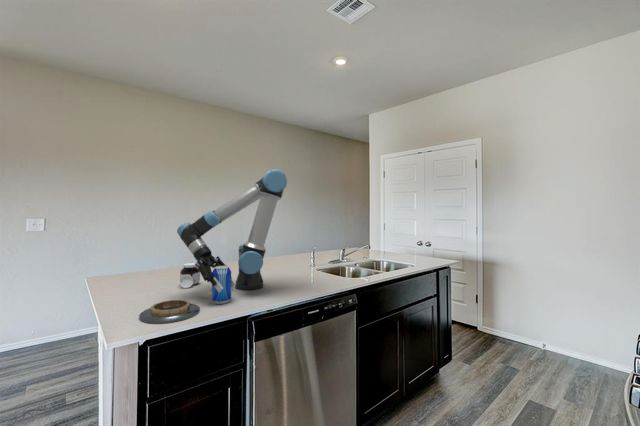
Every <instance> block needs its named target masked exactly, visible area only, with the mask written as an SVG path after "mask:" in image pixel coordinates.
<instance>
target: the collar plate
mask: <svg viewBox="0 0 640 426" xmlns="http://www.w3.org/2000/svg"><path fill="white" fill-rule="evenodd" d="M200 310H201V307H200V306H199V305H198V304H196V303H191V302H190V301H189V300H184V299H171V300H170V299H169V300H164V301H159V302H156V303H154V304H153V305H151V306H150V308H146V309H144V310H143V311H142V312H141V313H139V315H138V316H139V317H138V319H139V321H140V322H142V323H146V324H150V325H151V324H153V325H159V324H160V325H164V324H173V323H178V322H182V321H185V320H188V319H191V318H194V317H196V316H197V315H198V314H199V313H200Z"/></svg>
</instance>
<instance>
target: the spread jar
mask: <svg viewBox="0 0 640 426" xmlns="http://www.w3.org/2000/svg"><path fill="white" fill-rule="evenodd" d="M195 264H196V262H195V263H194V262H187V263H184V264H183V267H182V269H181V270H180V272H179V285H180V287H182V288H184V289H189V288H191V287H194V286H196V285H198V284H199V283H200V282H201V273H200V271H199V269H198V267H197V266H196V265H195Z"/></svg>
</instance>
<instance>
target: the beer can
mask: <svg viewBox="0 0 640 426" xmlns="http://www.w3.org/2000/svg"><path fill="white" fill-rule="evenodd" d="M212 274H213V278H214V277H215V278H216V279H217V280H218V282H219V283H220V284H221V286H222V287H223V289H222V290H221V291H220V292H218V291H217V290H216V288H215V287H214V286H213V285H212V284H211V301H212V303H213V304H215V305H223V304H228V303H229V302H230V301H231V299H232V288H231V277H232V271H231V269H230V266H227V265H226V266H216V267H214V268H213V270H212Z"/></svg>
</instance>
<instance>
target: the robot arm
mask: <svg viewBox="0 0 640 426" xmlns="http://www.w3.org/2000/svg"><path fill="white" fill-rule="evenodd" d="M287 184H288V179H287V176H286V174H285V173H284V172H283V171H282V170H281V169H275V168H274V169H273V168H272V169H269V170H268V171H266V172H265V173H264V175H263V176H262V177H261V179H259V180H258V181H256V182H255V183H254V185H253V186H252V187H250V188H248V189H246V190H245V191H244V192H241V193H240V194H238V195H237V196H236V197H234V198H232V199H230V200H229V201H227V202H225V203H224V204H222V205H220V206H219V207H217V208H216V209H214V210H209V211H208V212H206V213H204V214H203V215H202V216H200V217H199V218H198V219H197V220H196V221H194V222H193V223H191V222H185V223H183V224H180V225H179V226H178V227H177V230H176V233H177V235H178V236H179V238H180V240H181V241H182V242H183V244H184V245H185V246H186V247H187V249H188V250H189V252H190V253H191V254H192V255H193V258H194V259H195V260H196V262H195V263H196V264H195V265H196V266H197V268H198V269H199V271H200V276H202V279H203V280H204V281H205V282H207V283H210V284H211V286H212V285H213V286H214V287H215V288H216V290H217V291H218V292H220V291H221V290H222V289H223V287H222V286H221V284H220V283H219V282H218V280H217V279H216V278H215V277H214V278H213V274H212V272H213V270H212V269H214V267H216V266H227V264H225V263H224V261H222V260H221V258H220V257H219V256H213V254H212V250H211V249H210V248H209V246H208V245H207V243H206V242H205V241H204V240H203V238H202V237H203V236H204V235H206V233H208V232H209V231H211V230H212V229H213V228H216V227H217V226H218V225H220V224H221V223H223V222H225V221H226V220H228V219H229V218H232V216H234V215H236V214H237V213H240V212H241V211H242V210H243V209H246V208H247V207H249V206H250V205H253V204H254V203H256V202H257V201H259V202H258V205H257V209H256V212H255V215H254V220H253V222H252V226H251V229H250V232H249V235H248V238H247V241H246V242H244V243H243V244H242V245H241V244H240V245H239V246H238V260H237V261H238V262H237V263H238V264H237V265H238V274H237V277H236V279H235V280H236V281H235V280H234V279H233V277H232V276H231V289H233V287H235V289H237V290H240V291H241V290H243V291H252V290H259V289H261V288H262V289H263V287H264V279H263V276H262V274H261V273H262V272H261V270H262V267H263V266H264V257H265V255H266V251H267V249H266V247H265V244H266V240H267V237H268V233H269V231H270V228H271V227H270V226H271V223H272V221H273V220H272V219H273V217H274V213H275V210H276V207H277V202H278V201H279V200H281V199H282V198H283V197H282V196H283V194H284V190H285V188H286V187H287Z"/></svg>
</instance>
